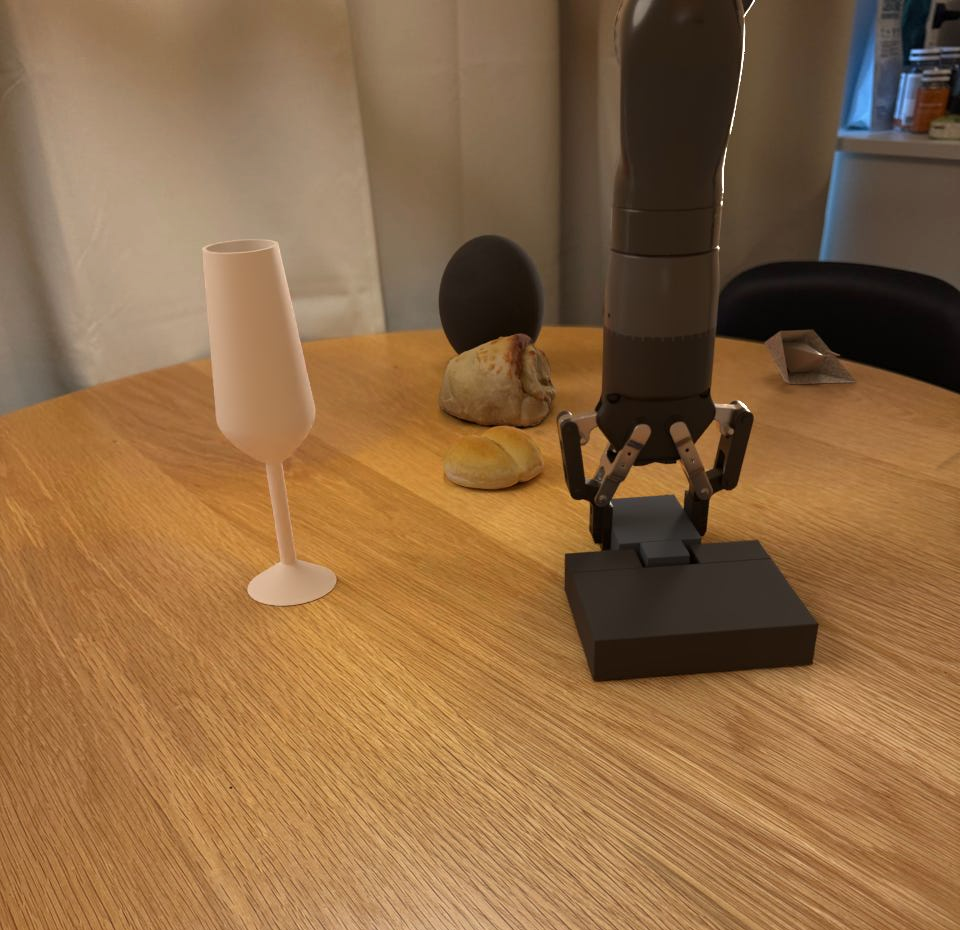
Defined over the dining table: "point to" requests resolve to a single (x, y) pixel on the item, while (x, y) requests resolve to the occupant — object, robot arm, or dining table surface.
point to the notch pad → (687, 612)
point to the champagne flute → (262, 391)
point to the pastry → (499, 383)
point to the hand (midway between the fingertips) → (647, 542)
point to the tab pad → (653, 530)
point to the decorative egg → (490, 293)
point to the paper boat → (805, 358)
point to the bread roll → (493, 459)
